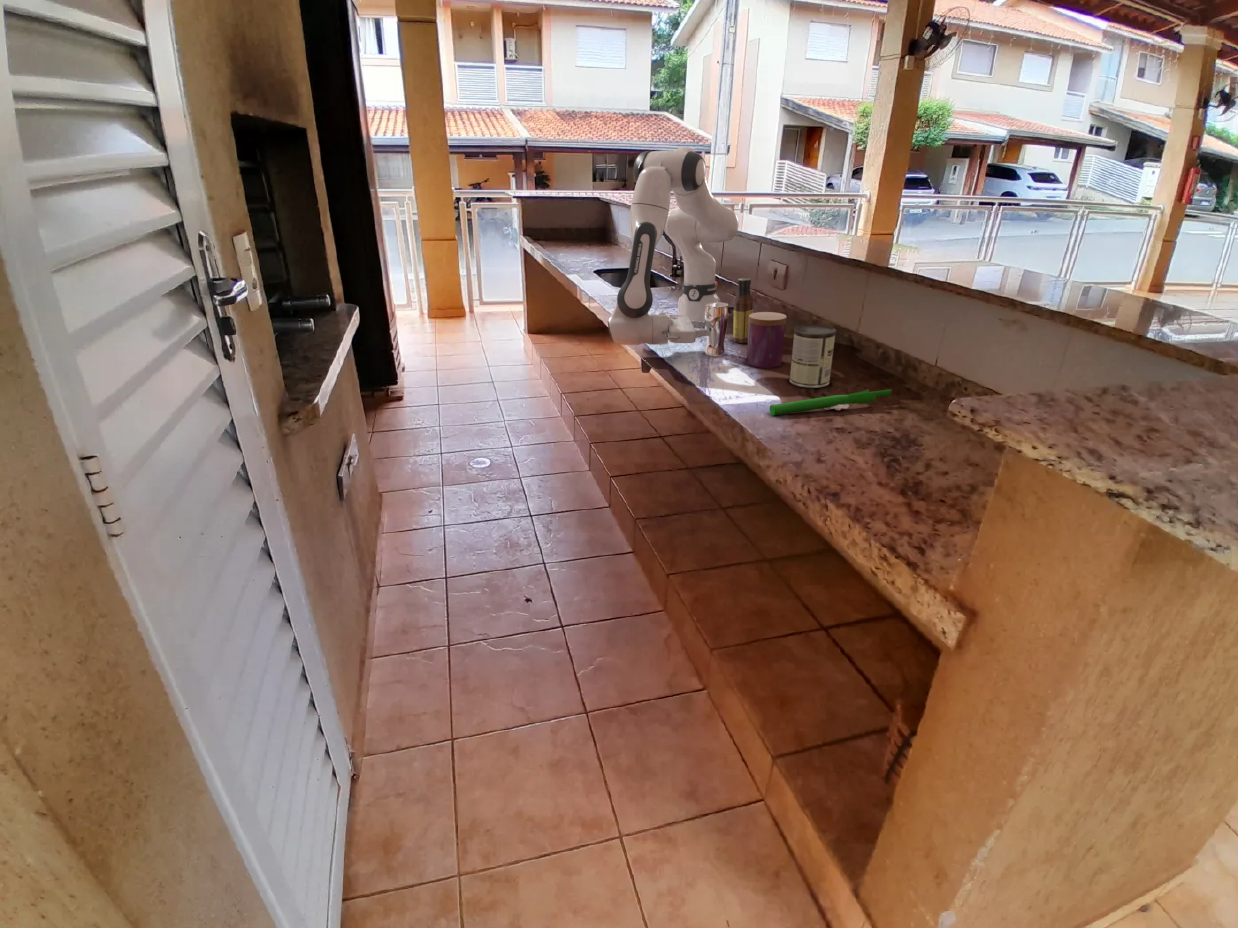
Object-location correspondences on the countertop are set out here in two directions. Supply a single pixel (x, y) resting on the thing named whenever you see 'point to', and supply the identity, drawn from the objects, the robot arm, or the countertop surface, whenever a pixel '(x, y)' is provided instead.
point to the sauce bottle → (742, 311)
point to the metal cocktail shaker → (716, 328)
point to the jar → (765, 339)
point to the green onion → (828, 402)
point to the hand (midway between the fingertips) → (707, 328)
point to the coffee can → (812, 355)
